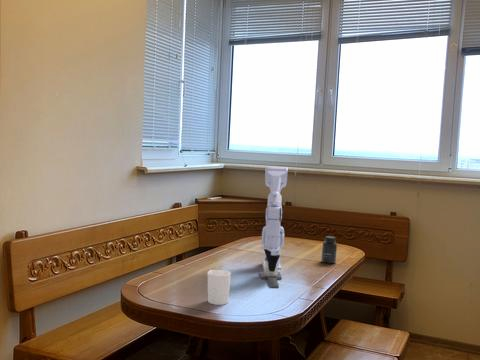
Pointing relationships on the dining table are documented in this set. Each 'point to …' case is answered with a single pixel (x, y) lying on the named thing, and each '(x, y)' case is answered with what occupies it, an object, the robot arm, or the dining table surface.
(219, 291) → the white cup
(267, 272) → the brushed metal cube
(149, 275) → the dining table surface
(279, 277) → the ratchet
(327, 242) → the supplement bottle
